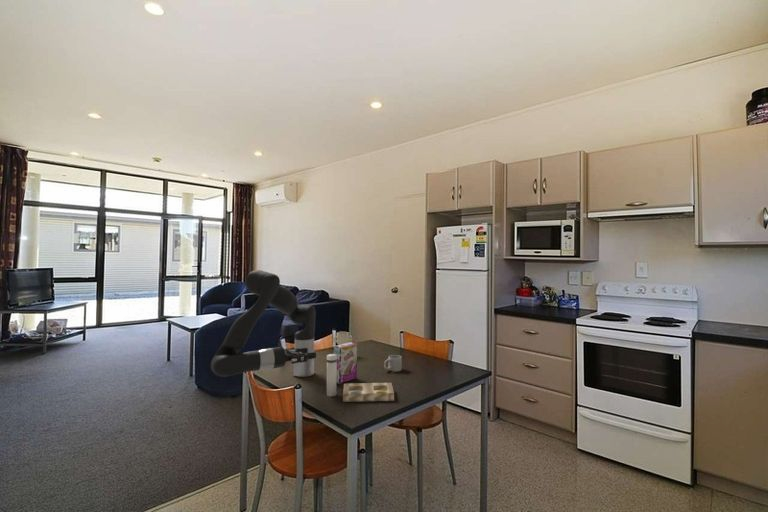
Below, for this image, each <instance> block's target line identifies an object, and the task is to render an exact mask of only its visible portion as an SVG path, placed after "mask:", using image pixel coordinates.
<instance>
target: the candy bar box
mask: <svg viewBox="0 0 768 512" xmlns="http://www.w3.org/2000/svg"><path fill="white" fill-rule="evenodd" d="M332 354H336V355H337V379H336V385H341V384H344V383H346V382H347V383H348V382H349V381H353V380H355V379H357V377H358V376H357V375H358V371H357V368H358V343H355V342H352V341H349V343H345V344H340V345H338V344H337V345H334V346H333V352H332Z"/></svg>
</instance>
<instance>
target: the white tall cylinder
mask: <svg viewBox="0 0 768 512" xmlns="http://www.w3.org/2000/svg"><path fill="white" fill-rule="evenodd" d="M336 379H337V355H336V354H333V353H329V354H327V355H326V396H327V397H335V396H337V383H336Z"/></svg>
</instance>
